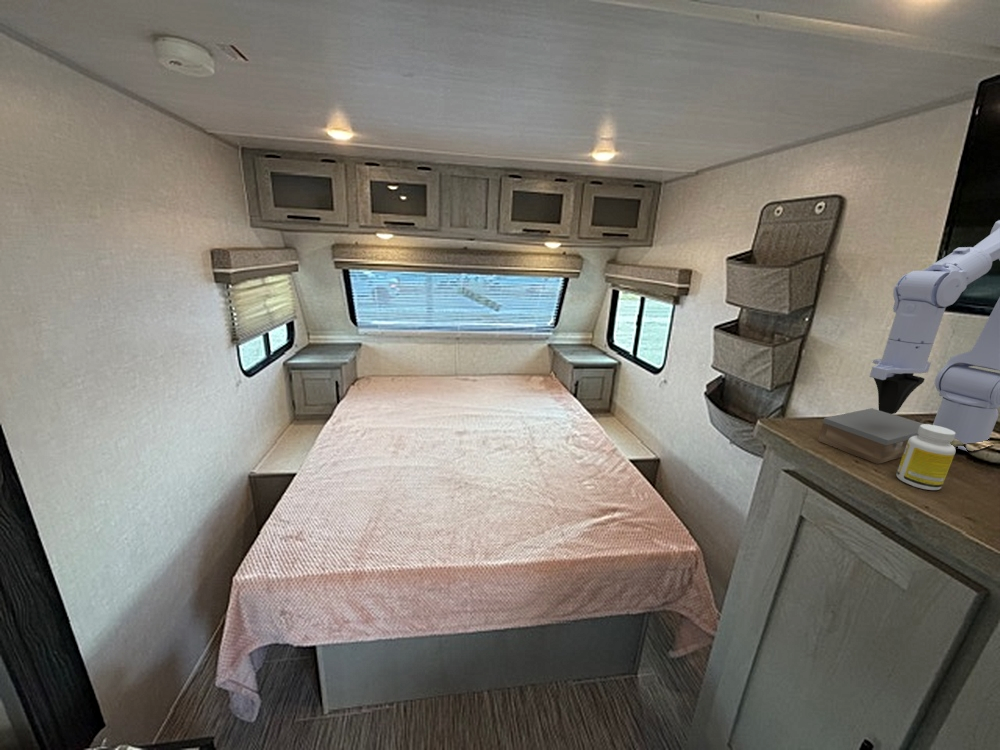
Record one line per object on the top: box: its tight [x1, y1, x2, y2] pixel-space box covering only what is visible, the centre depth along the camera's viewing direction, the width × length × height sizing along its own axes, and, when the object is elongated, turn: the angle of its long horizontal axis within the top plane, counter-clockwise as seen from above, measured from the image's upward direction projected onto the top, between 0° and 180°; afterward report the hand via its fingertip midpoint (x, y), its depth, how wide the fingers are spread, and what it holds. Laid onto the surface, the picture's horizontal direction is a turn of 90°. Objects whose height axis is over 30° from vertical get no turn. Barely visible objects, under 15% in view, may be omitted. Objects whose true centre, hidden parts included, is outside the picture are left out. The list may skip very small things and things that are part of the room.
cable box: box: [817, 422, 908, 465], centre depth 79 cm, size 16×10×4 cm, turn 112°
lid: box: [822, 408, 924, 445], centre depth 78 cm, size 16×10×1 cm, turn 112°
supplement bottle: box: [895, 423, 957, 491], centre depth 65 cm, size 5×5×10 cm
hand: (887, 411), depth 74 cm, fingers closed
